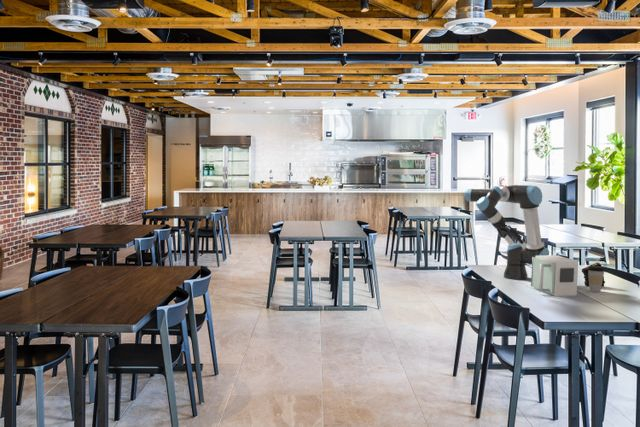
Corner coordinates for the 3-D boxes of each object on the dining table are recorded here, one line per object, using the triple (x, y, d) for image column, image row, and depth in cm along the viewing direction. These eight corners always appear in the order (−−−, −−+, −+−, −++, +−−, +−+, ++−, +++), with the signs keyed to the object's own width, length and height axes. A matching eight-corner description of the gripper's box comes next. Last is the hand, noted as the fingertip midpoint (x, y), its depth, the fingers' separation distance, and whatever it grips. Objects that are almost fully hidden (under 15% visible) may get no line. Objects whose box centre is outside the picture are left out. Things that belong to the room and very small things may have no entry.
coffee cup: (596, 293, 327) (598, 268, 326) (582, 290, 335) (584, 266, 334) (607, 292, 331) (608, 267, 330) (593, 289, 339) (594, 264, 338)
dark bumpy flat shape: (610, 284, 345) (600, 263, 345) (589, 293, 347) (580, 271, 346) (607, 283, 349) (597, 262, 348) (587, 291, 350) (577, 270, 350)
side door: (521, 286, 341) (523, 257, 340) (532, 285, 342) (534, 256, 341) (541, 294, 319) (543, 263, 317) (553, 294, 320) (555, 263, 318)
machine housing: (533, 287, 342) (535, 255, 340) (555, 287, 344) (556, 255, 342) (554, 296, 319) (556, 261, 318) (577, 295, 321) (579, 261, 320)
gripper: (481, 222, 334) (503, 247, 337) (503, 226, 309) (526, 253, 313) (490, 213, 334) (511, 239, 338) (512, 216, 310) (535, 243, 314)
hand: (518, 245), depth 326 cm, fingers open, 13 cm apart
